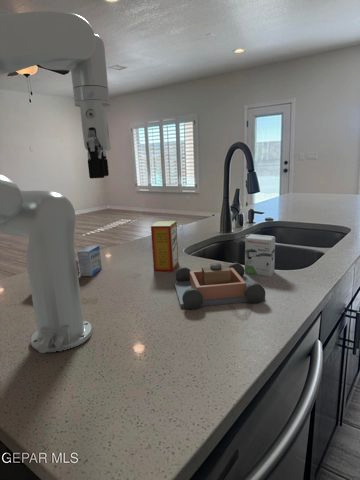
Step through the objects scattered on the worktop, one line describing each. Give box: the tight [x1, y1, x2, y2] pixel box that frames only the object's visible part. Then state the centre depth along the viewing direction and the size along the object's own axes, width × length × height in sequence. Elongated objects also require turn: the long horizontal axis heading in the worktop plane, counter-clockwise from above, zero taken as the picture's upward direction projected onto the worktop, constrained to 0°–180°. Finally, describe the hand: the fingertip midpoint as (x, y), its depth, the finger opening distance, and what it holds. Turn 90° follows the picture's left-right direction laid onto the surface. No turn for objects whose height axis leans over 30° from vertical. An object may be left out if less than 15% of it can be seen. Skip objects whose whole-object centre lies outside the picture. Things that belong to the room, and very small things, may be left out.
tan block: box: [201, 262, 231, 286], centre depth 92 cm, size 5×7×7 cm
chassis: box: [173, 262, 266, 310], centre depth 92 cm, size 19×22×5 cm
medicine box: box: [77, 245, 103, 277], centre depth 114 cm, size 8×4×9 cm, turn 168°
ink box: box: [244, 233, 276, 277], centre depth 106 cm, size 9×5×12 cm, turn 61°
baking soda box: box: [150, 220, 180, 273], centre depth 115 cm, size 10×6×16 cm
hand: (99, 177), depth 78 cm, fingers open, 9 cm apart
